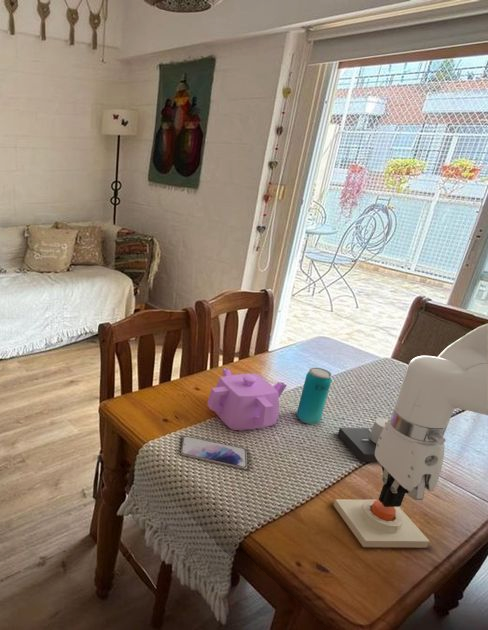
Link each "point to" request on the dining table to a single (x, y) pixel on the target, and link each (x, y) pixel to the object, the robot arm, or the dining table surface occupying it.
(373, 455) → the panel
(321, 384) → the beverage can
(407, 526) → the block
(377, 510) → the button
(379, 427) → the timer knob
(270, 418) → the teakettle
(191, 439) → the smartphone
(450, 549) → the dining table surface
